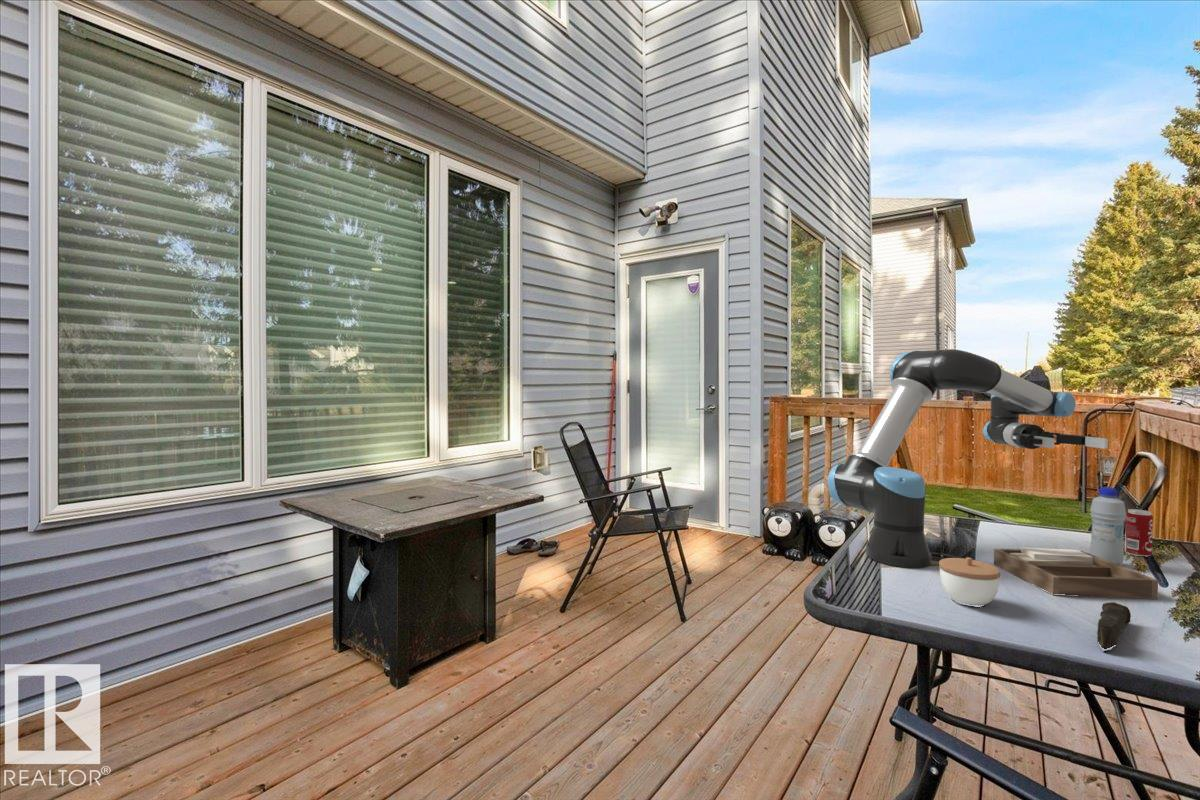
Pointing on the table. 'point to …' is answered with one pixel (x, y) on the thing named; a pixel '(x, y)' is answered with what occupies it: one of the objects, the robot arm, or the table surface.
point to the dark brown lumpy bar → (1112, 623)
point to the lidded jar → (969, 580)
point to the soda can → (1139, 532)
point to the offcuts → (1054, 557)
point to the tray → (1080, 577)
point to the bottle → (1107, 526)
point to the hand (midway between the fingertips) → (1079, 443)
